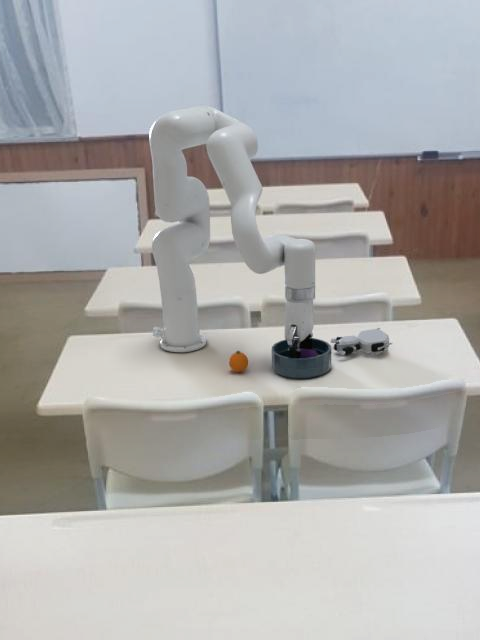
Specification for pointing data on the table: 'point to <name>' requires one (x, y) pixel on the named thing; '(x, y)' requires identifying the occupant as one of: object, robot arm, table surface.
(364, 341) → the robot toy
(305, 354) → the aubergine toy
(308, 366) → the bowl
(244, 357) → the orange toy
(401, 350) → the table surface
